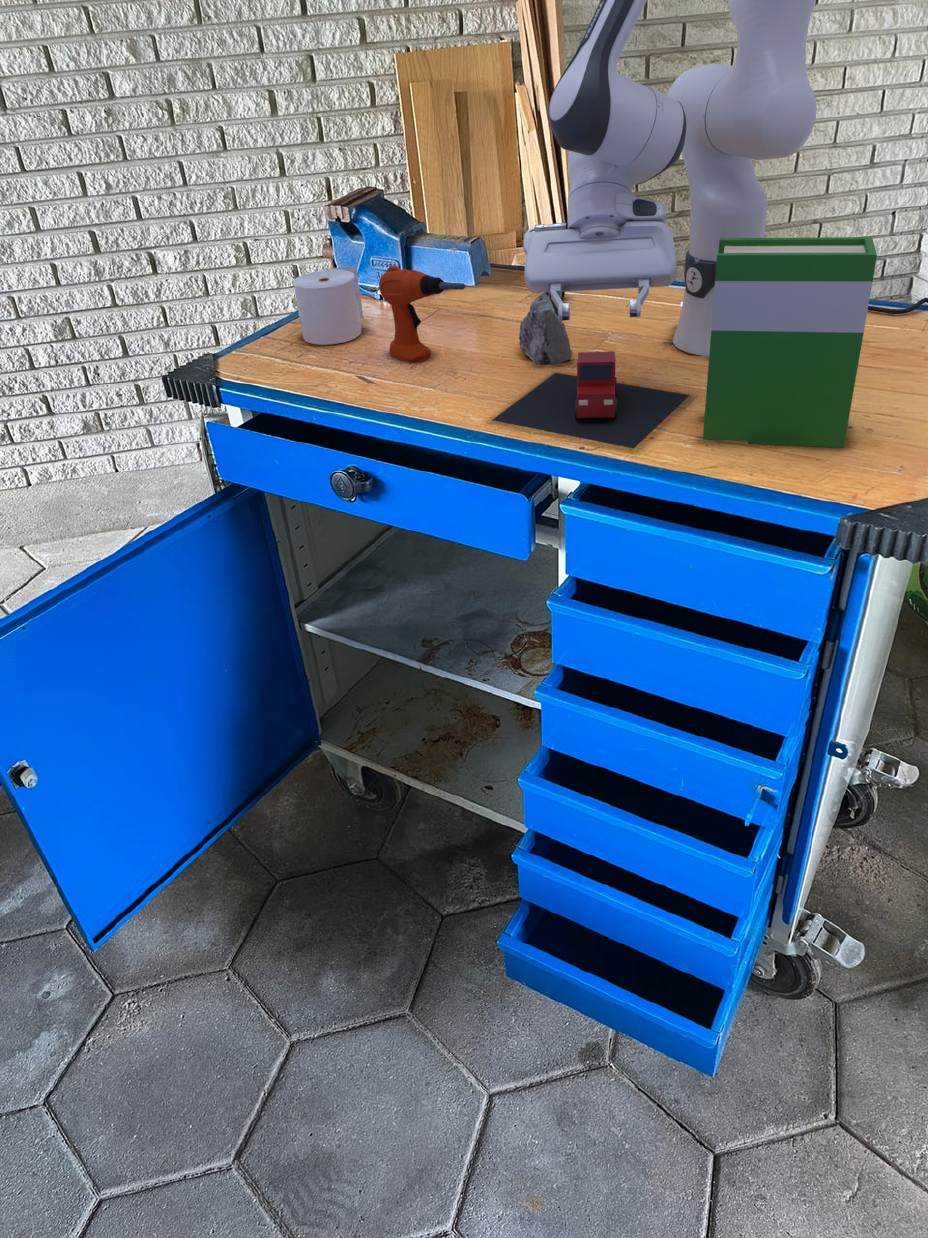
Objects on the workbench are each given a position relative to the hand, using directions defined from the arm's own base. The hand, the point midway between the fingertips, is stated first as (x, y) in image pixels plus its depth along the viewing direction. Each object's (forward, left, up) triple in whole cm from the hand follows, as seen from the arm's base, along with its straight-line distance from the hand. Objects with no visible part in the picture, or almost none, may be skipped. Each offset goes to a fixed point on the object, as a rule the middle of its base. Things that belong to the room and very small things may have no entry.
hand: (599, 317), depth 128 cm
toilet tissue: (+18, -57, -14) cm, 62 cm away
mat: (0, -2, -14) cm, 14 cm away
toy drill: (+10, -34, -14) cm, 38 cm away
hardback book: (-15, +19, -14) cm, 28 cm away
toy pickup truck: (-1, -2, -14) cm, 14 cm away
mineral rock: (-7, -25, -14) cm, 30 cm away
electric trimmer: (-19, -42, -14) cm, 49 cm away
